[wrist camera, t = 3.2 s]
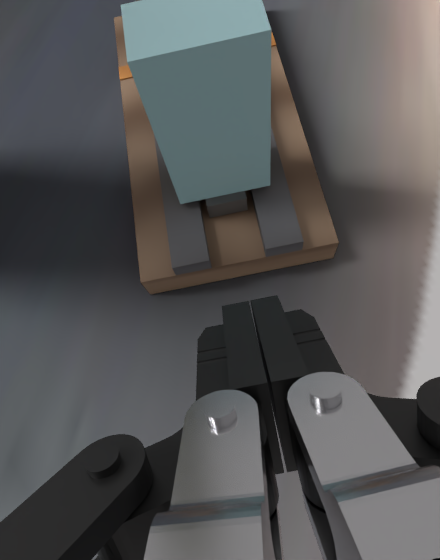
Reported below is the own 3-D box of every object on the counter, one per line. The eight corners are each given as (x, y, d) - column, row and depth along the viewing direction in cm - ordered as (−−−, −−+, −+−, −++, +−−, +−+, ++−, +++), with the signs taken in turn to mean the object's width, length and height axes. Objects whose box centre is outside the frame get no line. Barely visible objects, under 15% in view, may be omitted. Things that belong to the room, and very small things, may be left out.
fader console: (333, 257, 24) (342, 233, 21) (150, 294, 24) (135, 275, 21) (257, 11, 32) (256, -30, 29) (122, 41, 32) (109, 4, 30)
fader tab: (272, 205, 23) (274, 39, 13) (185, 222, 23) (128, 72, 14) (257, 149, 24) (250, -35, 15) (176, 166, 25) (119, -4, 15)
